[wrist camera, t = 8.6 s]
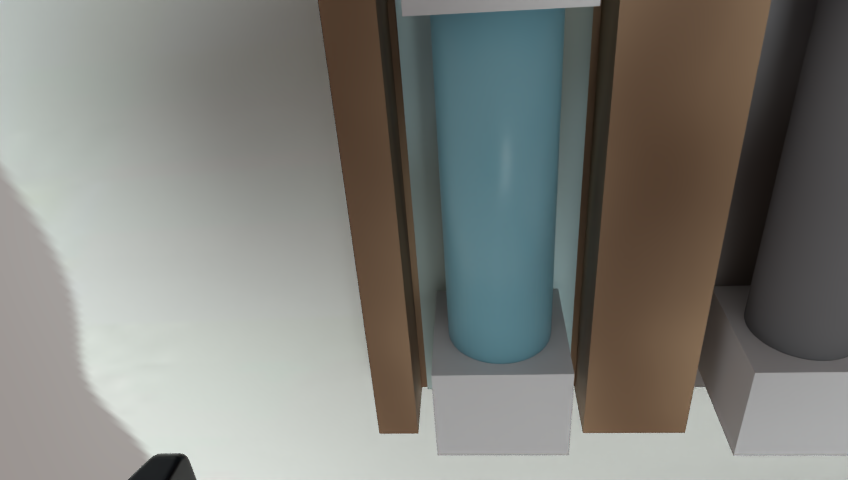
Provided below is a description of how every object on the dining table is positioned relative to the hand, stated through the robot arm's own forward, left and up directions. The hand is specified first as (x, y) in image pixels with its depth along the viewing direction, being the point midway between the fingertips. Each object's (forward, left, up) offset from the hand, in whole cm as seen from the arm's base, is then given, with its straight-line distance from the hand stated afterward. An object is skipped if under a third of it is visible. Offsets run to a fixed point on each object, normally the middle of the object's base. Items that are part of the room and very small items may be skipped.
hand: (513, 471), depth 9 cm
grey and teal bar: (0, 0, -10) cm, 10 cm away
